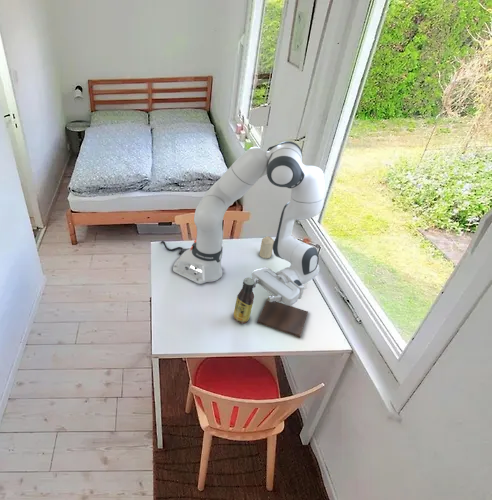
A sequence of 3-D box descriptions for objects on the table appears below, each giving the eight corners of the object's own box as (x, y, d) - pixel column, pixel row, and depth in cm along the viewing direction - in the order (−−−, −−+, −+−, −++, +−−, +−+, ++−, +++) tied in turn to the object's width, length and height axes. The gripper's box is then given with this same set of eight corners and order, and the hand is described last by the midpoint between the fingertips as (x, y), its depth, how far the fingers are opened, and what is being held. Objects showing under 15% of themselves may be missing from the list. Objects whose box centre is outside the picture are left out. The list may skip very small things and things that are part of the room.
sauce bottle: (229, 316, 151) (235, 277, 139) (242, 311, 153) (249, 272, 141) (239, 327, 146) (246, 288, 134) (253, 322, 148) (260, 283, 136)
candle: (271, 259, 180) (275, 241, 174) (259, 258, 181) (262, 240, 175) (270, 252, 184) (274, 235, 179) (259, 251, 185) (262, 234, 180)
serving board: (257, 322, 148) (257, 320, 147) (266, 300, 157) (267, 298, 157) (300, 337, 141) (300, 335, 140) (307, 313, 151) (308, 311, 150)
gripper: (267, 260, 158) (242, 272, 152) (307, 288, 143) (281, 302, 138) (265, 272, 161) (240, 284, 156) (303, 300, 147) (278, 314, 141)
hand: (259, 292), depth 147 cm, fingers open, 8 cm apart
